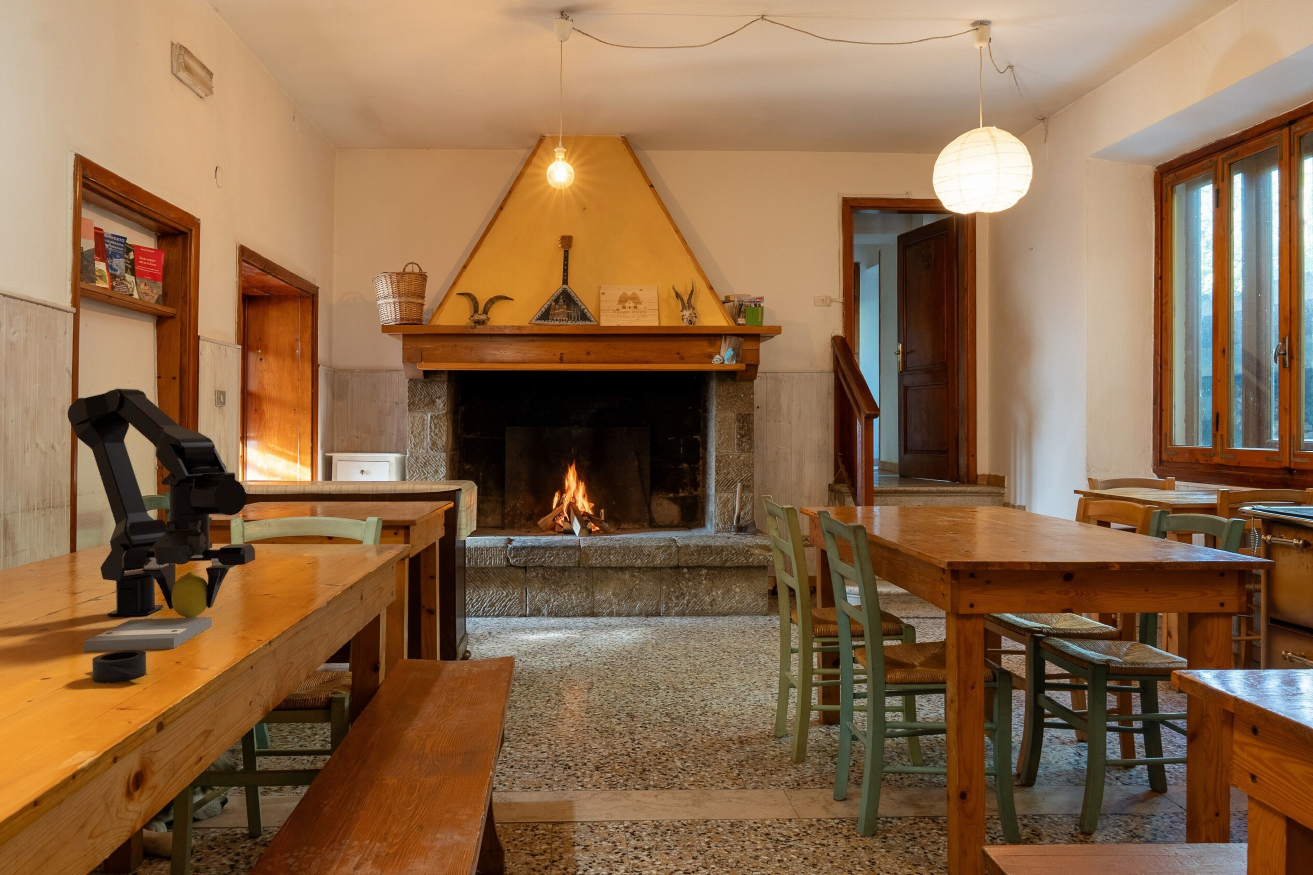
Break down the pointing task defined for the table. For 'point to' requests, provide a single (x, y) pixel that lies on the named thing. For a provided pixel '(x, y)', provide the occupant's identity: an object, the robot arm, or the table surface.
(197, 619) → the grey flat block
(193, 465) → the robot arm
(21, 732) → the table surface
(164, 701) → the table surface
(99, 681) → the black piece
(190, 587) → the lemon
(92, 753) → the table surface
